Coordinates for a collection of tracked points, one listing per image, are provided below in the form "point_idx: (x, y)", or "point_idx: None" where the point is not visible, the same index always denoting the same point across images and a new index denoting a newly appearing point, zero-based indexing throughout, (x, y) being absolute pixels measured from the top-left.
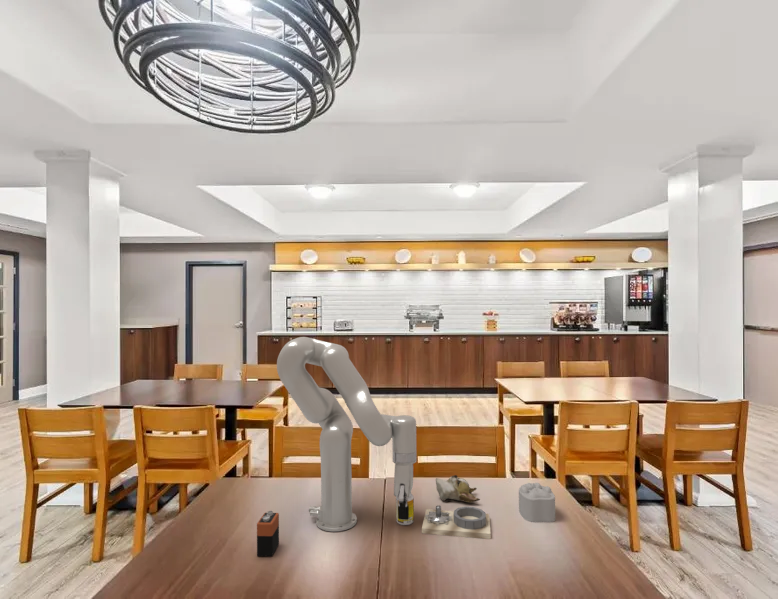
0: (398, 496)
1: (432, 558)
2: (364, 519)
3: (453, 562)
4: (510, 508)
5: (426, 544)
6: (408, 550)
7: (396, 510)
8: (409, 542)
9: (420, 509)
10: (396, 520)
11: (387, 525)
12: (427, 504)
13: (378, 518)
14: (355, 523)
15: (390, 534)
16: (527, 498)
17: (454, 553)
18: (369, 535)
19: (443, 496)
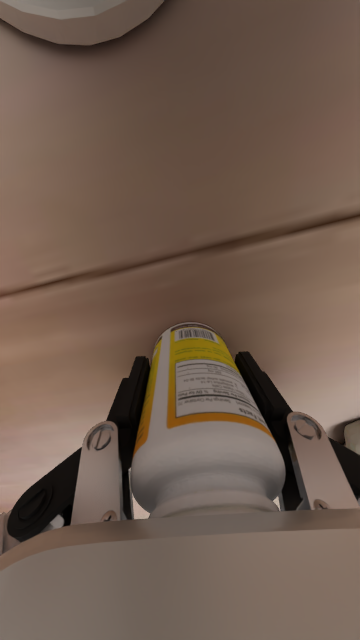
0: (166, 475)
1: (9, 436)
2: (174, 117)
3: (24, 464)
4: (279, 504)
5: (67, 420)
6: (4, 389)
7: (170, 357)
8: (51, 384)
9: (293, 379)
10: (173, 327)
11: (140, 290)
12: (331, 391)
13: (202, 224)
14: (59, 38)
15: (69, 319)
16: None
17: (61, 462)
18: (3, 223)
19: (350, 449)
